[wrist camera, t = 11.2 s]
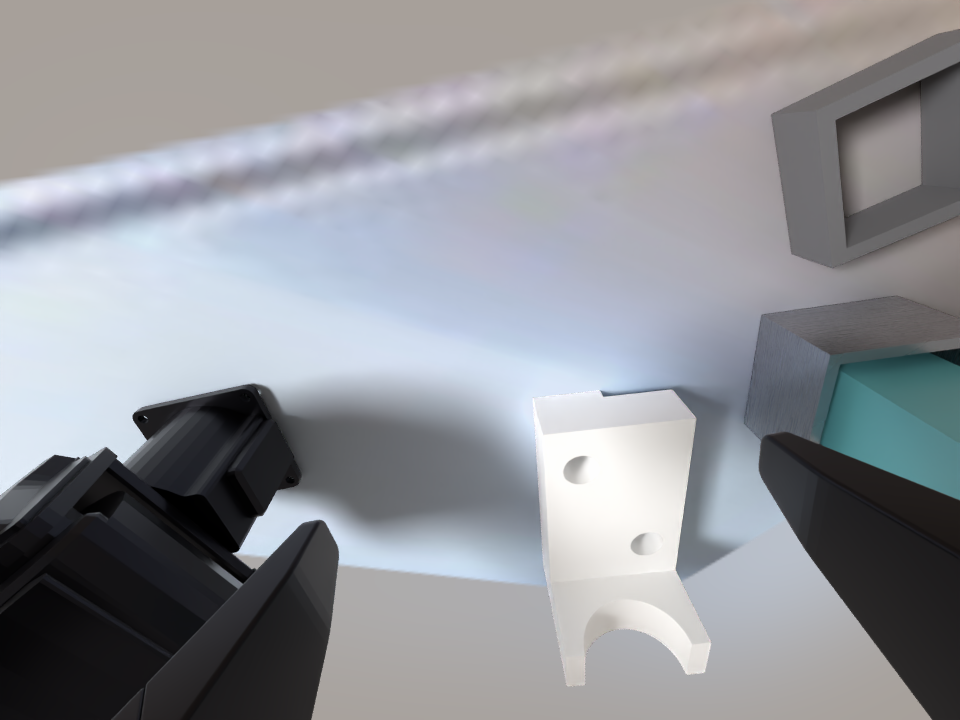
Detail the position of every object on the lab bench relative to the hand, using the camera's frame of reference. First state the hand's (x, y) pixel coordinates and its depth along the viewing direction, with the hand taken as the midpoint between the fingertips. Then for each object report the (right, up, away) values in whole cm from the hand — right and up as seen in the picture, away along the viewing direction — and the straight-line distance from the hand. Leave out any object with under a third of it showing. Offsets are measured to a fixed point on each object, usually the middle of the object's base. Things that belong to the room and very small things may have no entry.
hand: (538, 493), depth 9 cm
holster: (+15, +11, +9) cm, 21 cm away
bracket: (+6, -4, +18) cm, 19 cm away
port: (+16, +3, +14) cm, 22 cm away
